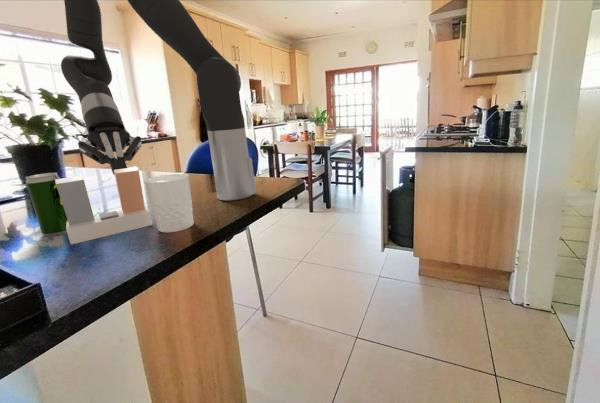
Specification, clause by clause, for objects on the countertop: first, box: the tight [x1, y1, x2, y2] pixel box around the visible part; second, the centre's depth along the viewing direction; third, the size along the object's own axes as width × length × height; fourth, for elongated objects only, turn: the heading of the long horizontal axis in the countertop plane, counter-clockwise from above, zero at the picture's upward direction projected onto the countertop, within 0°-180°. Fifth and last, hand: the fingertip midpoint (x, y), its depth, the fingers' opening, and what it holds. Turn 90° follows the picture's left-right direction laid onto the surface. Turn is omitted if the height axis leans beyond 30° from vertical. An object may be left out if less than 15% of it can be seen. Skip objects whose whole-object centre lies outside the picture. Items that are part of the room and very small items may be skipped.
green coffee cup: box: [25, 172, 68, 238], centre depth 63 cm, size 5×5×12 cm
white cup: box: [143, 172, 195, 233], centre depth 61 cm, size 8×8×10 cm
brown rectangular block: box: [113, 166, 146, 213], centre depth 62 cm, size 4×2×9 cm, turn 125°
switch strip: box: [66, 206, 153, 245], centre depth 63 cm, size 14×6×3 cm, turn 125°
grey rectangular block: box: [55, 175, 95, 225], centre depth 57 cm, size 4×2×9 cm, turn 125°
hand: (121, 174), depth 68 cm, fingers closed
